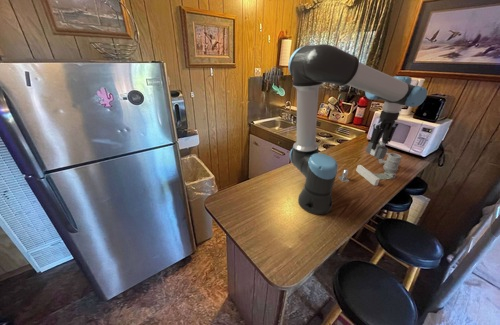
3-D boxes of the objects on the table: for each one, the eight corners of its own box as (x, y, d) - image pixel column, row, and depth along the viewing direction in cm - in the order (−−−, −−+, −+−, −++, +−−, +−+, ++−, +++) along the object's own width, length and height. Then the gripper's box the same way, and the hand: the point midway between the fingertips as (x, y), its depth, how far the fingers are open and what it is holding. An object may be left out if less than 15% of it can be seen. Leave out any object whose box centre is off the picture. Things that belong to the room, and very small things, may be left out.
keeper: (371, 180, 111) (373, 175, 109) (364, 174, 116) (366, 170, 115) (394, 178, 113) (396, 174, 111) (386, 173, 118) (388, 169, 117)
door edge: (374, 185, 106) (376, 179, 104) (355, 170, 120) (357, 165, 118) (377, 185, 106) (379, 179, 105) (358, 170, 120) (360, 164, 118)
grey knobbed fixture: (342, 181, 109) (345, 172, 106) (337, 177, 113) (340, 168, 111) (349, 181, 110) (352, 172, 107) (344, 176, 114) (346, 167, 111)
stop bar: (383, 158, 104) (388, 146, 100) (378, 159, 103) (383, 146, 99) (370, 150, 111) (375, 139, 108) (365, 151, 111) (369, 139, 107)
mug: (393, 173, 118) (400, 155, 112) (373, 165, 127) (379, 148, 121) (399, 170, 121) (407, 153, 115) (380, 162, 130) (386, 146, 124)
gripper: (397, 108, 100) (382, 150, 112) (370, 110, 97) (357, 153, 108) (411, 111, 94) (393, 155, 105) (383, 113, 90) (368, 159, 101)
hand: (375, 154), depth 106 cm, fingers closed on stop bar, 3 cm apart
